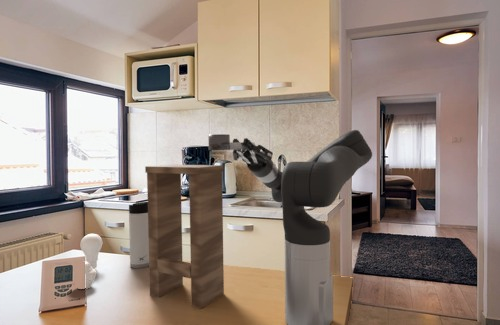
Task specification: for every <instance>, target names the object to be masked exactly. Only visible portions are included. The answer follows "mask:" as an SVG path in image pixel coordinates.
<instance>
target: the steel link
mask: <svg viewBox="0 0 500 325" xmlns="http://www.w3.org/2000/svg"><path fill="white" fill-rule="evenodd" d="M207 136H208V151H233V150H241V151H242V149H247V148H246V147H245V146H244V145H243V141H242V142H241V141H239V142H233V141H232V142H231V141H230V140H231V139H230V138H231V137H230V136H231V135H230V134H225V133H224V134H221V133H220V134H218V133H217V134H208V135H207ZM252 144H255V145H256V143H255V142H252Z"/></svg>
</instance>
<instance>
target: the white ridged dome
mask: <svg viewBox="0 0 500 325" xmlns="http://www.w3.org/2000/svg"><path fill="white" fill-rule="evenodd" d="M84 262H85V274H86V289H85V290H88V288H89V289H90V288H91V287H92V286H93V284H94V281H95V279H96V276H97V271H96V270H95V269H96V268H95V269H93V268H92V267H91V264H90V263H89V262H86V261H84Z"/></svg>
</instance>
